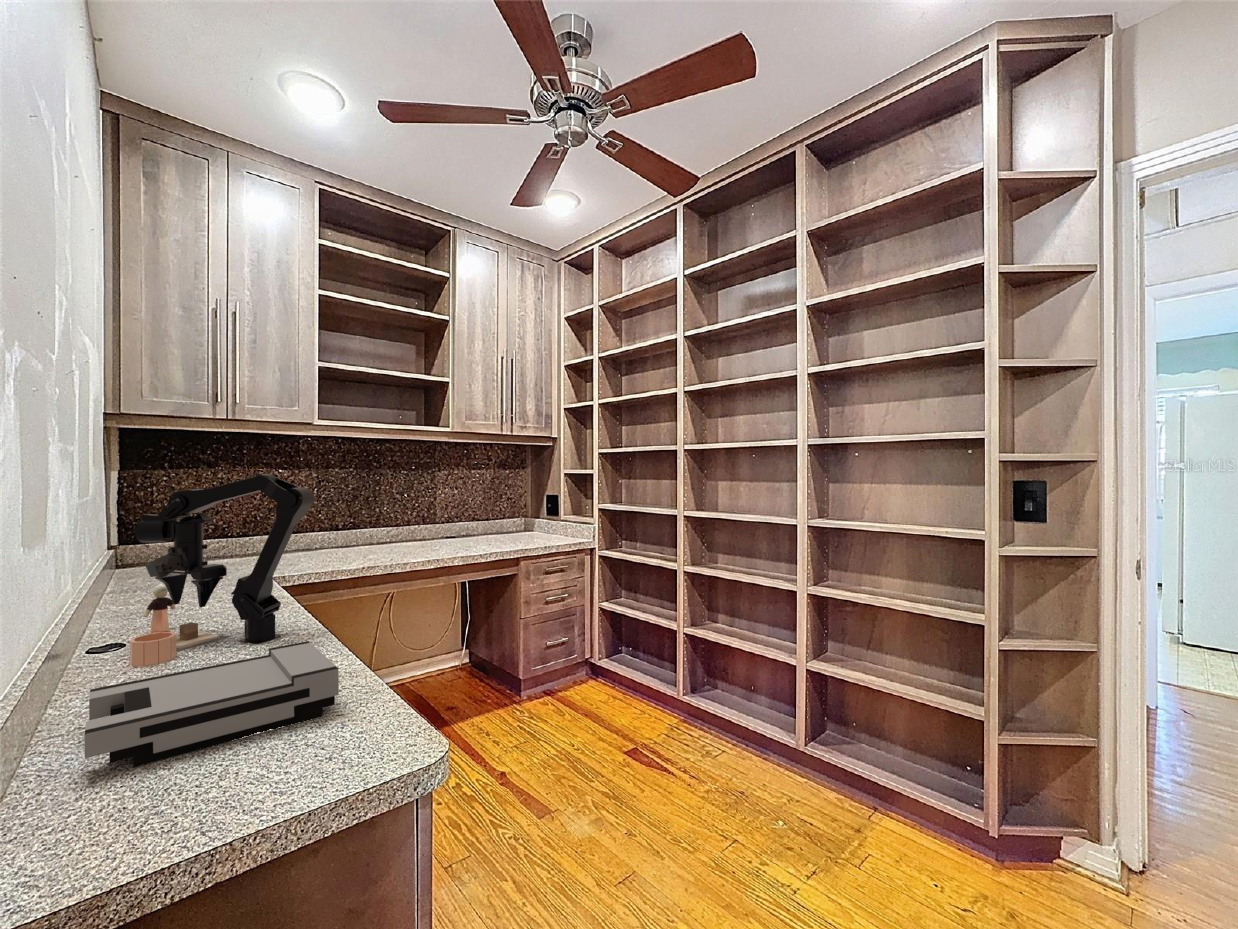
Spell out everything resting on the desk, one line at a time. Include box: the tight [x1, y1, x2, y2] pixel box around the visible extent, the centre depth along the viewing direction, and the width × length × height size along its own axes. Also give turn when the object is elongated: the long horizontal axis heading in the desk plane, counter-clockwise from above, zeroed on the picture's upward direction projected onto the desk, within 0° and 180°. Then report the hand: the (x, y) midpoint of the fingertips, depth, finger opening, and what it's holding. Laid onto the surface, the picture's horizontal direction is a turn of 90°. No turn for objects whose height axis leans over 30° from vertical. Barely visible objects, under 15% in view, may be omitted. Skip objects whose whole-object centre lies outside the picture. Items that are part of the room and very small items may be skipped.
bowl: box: [129, 631, 177, 668], centre depth 125 cm, size 8×8×6 cm
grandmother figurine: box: [143, 583, 176, 633], centre depth 147 cm, size 8×4×13 cm, turn 179°
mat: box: [176, 631, 231, 652], centre depth 139 cm, size 12×12×1 cm
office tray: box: [84, 640, 340, 768], centre depth 96 cm, size 21×32×8 cm, turn 131°
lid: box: [176, 621, 221, 649], centre depth 139 cm, size 9×9×4 cm
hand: (189, 605), depth 139 cm, fingers open, 9 cm apart
